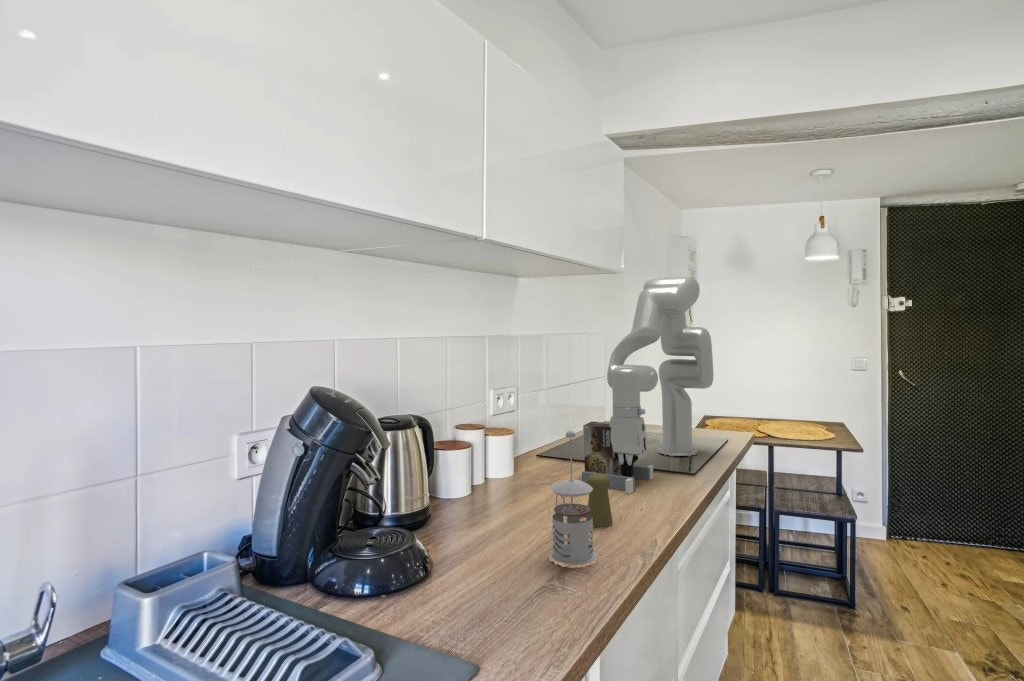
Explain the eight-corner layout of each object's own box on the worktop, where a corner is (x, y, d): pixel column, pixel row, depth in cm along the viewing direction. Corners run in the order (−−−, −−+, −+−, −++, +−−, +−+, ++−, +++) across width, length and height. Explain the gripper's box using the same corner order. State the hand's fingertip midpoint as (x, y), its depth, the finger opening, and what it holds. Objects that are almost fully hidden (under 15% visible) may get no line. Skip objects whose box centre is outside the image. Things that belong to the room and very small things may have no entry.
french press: (558, 571, 111) (555, 437, 110) (538, 548, 123) (535, 426, 122) (607, 564, 114) (604, 433, 113) (582, 542, 125) (580, 423, 124)
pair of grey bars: (604, 471, 181) (604, 459, 181) (653, 477, 173) (653, 465, 173) (578, 486, 166) (577, 474, 166) (629, 494, 158) (629, 480, 158)
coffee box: (622, 478, 173) (621, 422, 172) (613, 484, 167) (612, 426, 167) (593, 475, 178) (591, 420, 177) (583, 480, 172) (582, 424, 172)
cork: (616, 520, 138) (615, 473, 137) (606, 529, 133) (605, 479, 132) (592, 517, 141) (591, 470, 141) (581, 525, 136) (580, 476, 135)
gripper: (657, 412, 166) (658, 478, 167) (606, 409, 174) (607, 472, 175) (648, 416, 160) (649, 484, 160) (596, 412, 168) (597, 478, 168)
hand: (627, 477), depth 168 cm, fingers closed
